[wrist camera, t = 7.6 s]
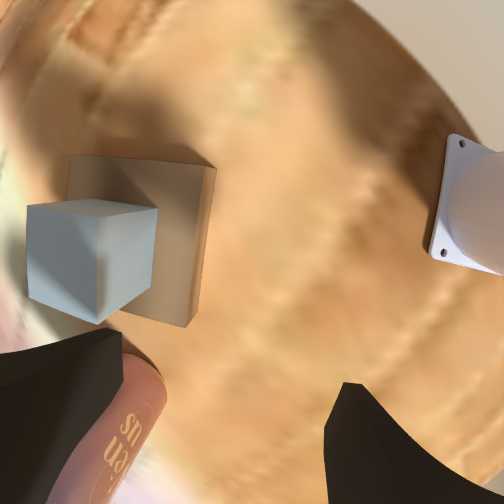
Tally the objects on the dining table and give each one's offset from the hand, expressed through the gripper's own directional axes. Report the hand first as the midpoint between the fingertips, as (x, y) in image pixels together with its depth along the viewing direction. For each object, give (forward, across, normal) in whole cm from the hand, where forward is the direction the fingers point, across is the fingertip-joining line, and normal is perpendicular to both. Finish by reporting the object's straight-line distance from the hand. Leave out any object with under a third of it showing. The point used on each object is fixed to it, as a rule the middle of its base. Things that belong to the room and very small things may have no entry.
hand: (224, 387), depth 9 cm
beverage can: (+10, +8, +10) cm, 16 cm away
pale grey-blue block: (+7, +8, -2) cm, 11 cm away
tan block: (+10, +8, -2) cm, 13 cm away
